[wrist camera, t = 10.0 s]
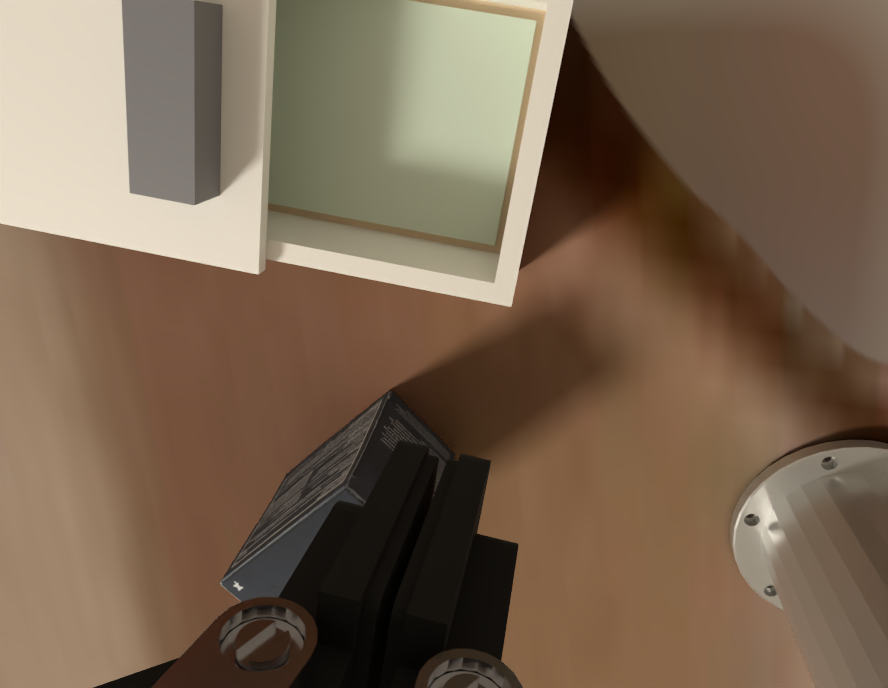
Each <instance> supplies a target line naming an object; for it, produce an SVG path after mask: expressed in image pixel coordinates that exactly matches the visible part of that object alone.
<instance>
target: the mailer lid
mask: <svg viewBox="0 0 888 688" xmlns="http://www.w3.org/2000/svg"><path fill="white" fill-rule="evenodd" d="M275 23H276V0H0V223H1V224H6V225H11V226H16V227H21V228H26V229H31V230H36V231H42V232H47V233H52V234H57V235H62V236H67V237H72V238H77V239H82V240H87V241H92V242H97V243H102V244H107V245H112V246H117V247H122V248H127V249H132V250H137V251H142V252H147V253H153V254H158V255H163V256H168V257H173V258H178V259H183V260H188V261H193V262H198V263H203V264H208V265H213V266H218V267H223V268H228V269H233V270H238V271H243V272H248V273H253V274H258V275H259V274H260V273H261V272H263V271H264V270H265V260H266V236H267V212H268V189H269V165H270V141H271V117H272V94H273V70H274V46H275Z"/></svg>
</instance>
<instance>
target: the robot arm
mask: <svg viewBox="0 0 888 688" xmlns="http://www.w3.org/2000/svg"><path fill="white" fill-rule="evenodd" d="M429 450H430V448H429V446H425V445H421V444H416V443H412V442H408V441H403V440H399V441H398V443H397V445H396V447H395V448H394V450H393V452H392V454H391V456H390V458H389V460H388V462H387V463H386V465H385V467H384V469H383V471H382V473H381V475H380V477H379V478H378V480H377V482H376V484H375V486H374V488H373V490H372V492H371V493H370V495H369V497H368V499H367V501H366V503H365V505H364V506H361V505H357V504H353V503H349V502H345V501H337V502H336V504H335V505H334V506H333V508H332V509H331V511H330V513H329V514H328V516H327V518H326V519H325V521H324V523H323V524H322V526H321V528H320V529H319V531H318V532H317V534H316V536H315V537H314V539H313V541H312V542H311V544H310V546H309V547H308V549H307V551H306V552H305V554H304V556H303V557H302V559H301V561H300V562H299V564H298V566H297V567H296V569H295V570H294V572H293V574H292V575H291V577H290V579H289V580H288V582H287V584H286V585H285V587H284V589H283V590H282V592H281V594H280V595H279V597H258V598H254V599H249V600H244V601H242V602H240V603H238V604H236V605H234V606H231V607H230V608H228V609H227V610H226V611H225V612H223V613H222V614H221V615H220V616H218V617H217V618H216V619H215V620H214V621H213V623H212V624H211V625H210V626H209V627H208V628H207V629H206V630H205V631H204V632H203V633H202V634H201V635H200V636H199V637H198V638H197V640H196V641H195V642H194V643H193V644H192V645H191V646H190V647H189V648H188V649H187V650H186V651H185V652H184V653H183V654H182V655H181V657H180V658H177V659H174V660H172V661H169V662H166V663H163V664H160V665H157V666H154V667H151V668H149V669H146V670H143V671H140V672H137V673H134V674H131V675H128V676H126V677H123V678H120V679H117V680H114V681H111V682H108V683H105V684H103V685H100V686H97V687H94V688H523V687H522V685H521V683H520V682H519V680H518V678H517V677H516V675H515V673H514V672H513V671H512V670H511V669H510V668H508V667H507V666H506V665H505V664H504V663H503V662H502V661H501V658H502V651H503V645H504V638H505V631H506V625H507V618H508V611H509V604H510V598H511V591H512V584H513V578H514V571H515V564H516V558H517V551H518V544H517V543H513V542H509V541H505V540H500V539H496V538H492V537H488V536H484V535H480V534H477V530H478V525H479V520H480V515H481V510H482V505H483V500H484V495H485V489H486V484H487V479H488V474H489V469H490V463H491V460H486V459H482V458H477V457H473V456H469V455H464V454H461V456H460V458H459V461H454V460H450V459H448V460H447V462H446V465H445V467H444V470H443V473H442V475H441V478H440V481H439V483H438V486H437V489H436V491H435V494H434V489H435V482H436V476H437V470H438V464H439V457H437V456H433V455H429ZM433 495H434V497H433ZM730 544H731V547H732V551H733V554H734V557H735V561H736V563H737V565H738V568H739V570H740V572H741V575H742V576H743V577H744V579H745V580H746V581H747V583H748V584H749V585H750V587H751V588H752V589H753V590H754V591H755V592H756V593H757V594H758V595H759V596H760V597H762V598H763V599H764V600H766V601H768V602H769V603H771V604H773V605H774V606H776V607H778V608H779V609H782V610H784V612H785V614H786V617H787V619H788V622H789V624H790V626H791V629H792V631H793V634H794V636H795V639H796V641H797V644H798V646H799V649H800V651H801V653H802V656H803V658H804V661H805V663H806V666H807V668H808V671H809V673H810V676H811V678H812V681H813V683H814V685H815V688H888V443H883V442H878V441H872V440H842V441H832V442H825V443H822V444H818V445H814V446H810V447H806V448H803V449H801V450H799V451H797V452H794V453H792V454H790V455H787V456H785V457H783V458H782V459H780V460H778V461H777V462H775V463H774V464H772V465H771V466H769V467H767V468H766V469H765V470H764V471H763V472H762V473H761V474H759V475H758V476H757V477H756V478H755V479H754V480H753V481H752V482H751V483H750V484H749V486H748V487H747V488H746V490H745V491H744V492H743V494H742V495H741V497H740V499H739V501H738V503H737V505H736V507H735V509H734V512H733V516H732V520H731V525H730Z"/></svg>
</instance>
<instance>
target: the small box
mask: <svg viewBox="0 0 888 688" xmlns="http://www.w3.org/2000/svg"><path fill="white" fill-rule="evenodd" d="M399 440H403V441H408V442H412V443H416V444H421V445H425V446H429V448H430V450H429V455H433V456H437V457H439V464H438V470H437V476H436V482H435V489H434V494H435V491H436V489H437V486H438V483H439V481H440V478H441V475H442V473H443V470H444V467H445V465H446V462H447V460H448V459H450V460H454V456H455V454H454V453H453V452H452V451H451V450H450V449H449V447H448V446H447V445H446V444H445V443H444V442H443V441H442V440H441V439H440V438H439V437H438V436H437V435H436V434H435V433H434V432H433V431H432V430H431V429H430V428H429V427H428V426H427V425H426V424H425V423H424V422H423V421H422V420H421V419H420V418H419V417H418V416H417V415H416V414H415V413H414V412H413V411H412V410H411V409H410V408H409V407H408V406H407V405H406V404H405V403H404V402H403V401H402V400H401V399H400V398H399V397H398V396H397V395H396V394H395V393H394V392H393V391H388V392H387V393H386V394H385V395H383V396H382V397H381V398H380V399H378V400H377V401H376V402H374V403H373V404H372V405H371V406H370V407H368V408H367V409H366V410H365V411H363V412H362V413H361V414H360V415H358V416H357V417H356V418H355V419H353V420H352V421H351V422H350V423H349V424H347V425H346V426H345V427H344V428H342V429H341V430H340V431H339V432H338V433H336V434H335V435H334V436H332V437H331V438H330V439H329V440H328V441H326V442H325V443H323V444H322V445H321V446H320V447H319V448H318V449H317V450H315V451H314V452H313V453H312V454H310V455H309V456H308V457H307V458H306V459H304V460H303V461H302V462H301V463H300V464H298V465H297V466H296V467H295V468H294V469H293V470H291V471H290V472H289V473H287V474H286V476H285V478H284V480H283V481H282V483H281V485H280V486H279V488H278V490H277V492H276V494H275V495H274V497H273V499H272V501H271V502H270V504H269V505H268V507H267V509H266V510H265V512H264V513H263V515H262V517H261V518H260V520H259V522H258V523H257V525H256V526H255V527H254V529H253V531H252V532H251V534H250V535H249V537H248V539H247V540H246V542H245V544H244V545H243V546H242V548H241V550H240V551H239V553H238V554H237V556H236V558H235V559H234V561H233V562H232V564H231V565H230V567H229V569H228V571H227V572H226V574H225V575H224V577H223V579H222V580H221V586H223V587H224V588H225V589H226V590H228V591H229V592H230V593H231V594H232V595H234V596H235V597H236V598H237V599H238V600H240V601H241V602H242V601H244V600H249V599H254V598H258V597H279V595H280V594H281V592H282V590H283V589H284V587H285V585H286V584H287V582H288V580H289V579H290V577H291V575H292V574H293V572H294V570H295V569H296V567H297V566H298V564H299V562H300V561H301V559H302V557H303V556H304V554H305V552H306V551H307V549H308V547H309V546H310V544H311V542H312V541H313V539H314V537H315V536H316V534H317V532H318V531H319V529H320V528H321V526H322V524H323V523H324V521H325V519H326V518H327V516H328V514H329V513H330V511H331V509H332V508H333V506H334V505H335V504H336V502H337V501H345V502H349V503H353V504H357V505H361V506H364V505H365V503H366V501H367V499H368V497H369V495H370V493H371V492H372V490H373V488H374V486H375V484H376V482H377V480H378V478H379V477H380V475H381V473H382V471H383V469H384V467H385V465H386V463H387V462H388V460H389V458H390V456H391V454H392V452H393V450H394V448H395V447H396V445H397V443H398V441H399ZM433 497H434V495H433Z"/></svg>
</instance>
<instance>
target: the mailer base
mask: <svg viewBox="0 0 888 688" xmlns="http://www.w3.org/2000/svg"><path fill="white" fill-rule="evenodd" d="M572 6H573V0H276V23H275V46H274V70H273V94H272V117H271V141H270V165H269V189H268V212H267V236H266V259H269V260H274V261H279V262H285V263H290V264H295V265H300V266H305V267H310V268H315V269H320V270H325V271H331V272H336V273H341V274H346V275H351V276H356V277H361V278H366V279H371V280H376V281H382V282H387V283H392V284H397V285H402V286H407V287H412V288H417V289H422V290H427V291H433V292H438V293H443V294H448V295H453V296H458V297H463V298H468V299H473V300H479V301H484V302H489V303H494V304H499V305H504V306H509V307H511V306H512V301H513V296H514V291H515V286H516V281H517V277H518V272H519V267H520V262H521V257H522V252H523V247H524V242H525V237H526V232H527V227H528V222H529V218H530V213H531V208H532V203H533V198H534V193H535V188H536V183H537V178H538V173H539V168H540V163H541V159H542V154H543V149H544V144H545V139H546V134H547V129H548V124H549V119H550V114H551V109H552V104H553V100H554V95H555V90H556V85H557V80H558V75H559V70H560V65H561V60H562V55H563V50H564V45H565V41H566V36H567V31H568V26H569V21H570V16H571V11H572Z"/></svg>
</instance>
